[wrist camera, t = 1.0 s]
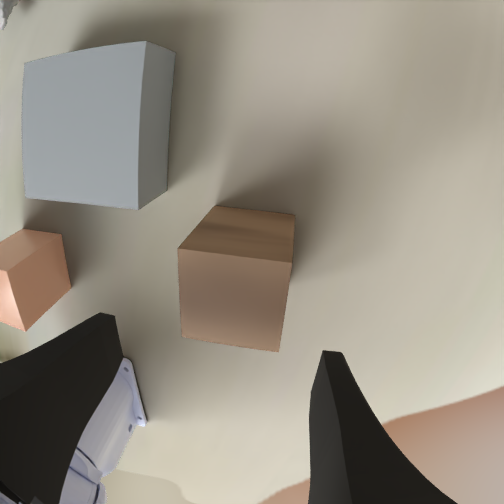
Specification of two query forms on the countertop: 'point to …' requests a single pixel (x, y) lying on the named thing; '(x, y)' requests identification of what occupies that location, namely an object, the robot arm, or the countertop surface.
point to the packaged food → (6, 11)
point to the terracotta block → (31, 276)
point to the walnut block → (236, 277)
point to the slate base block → (98, 125)
